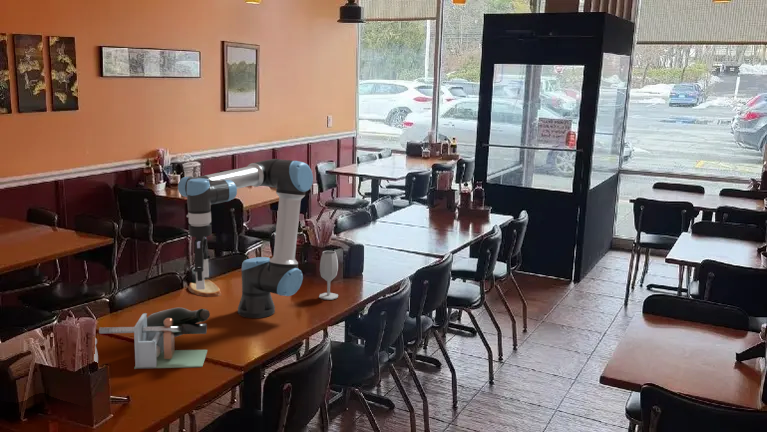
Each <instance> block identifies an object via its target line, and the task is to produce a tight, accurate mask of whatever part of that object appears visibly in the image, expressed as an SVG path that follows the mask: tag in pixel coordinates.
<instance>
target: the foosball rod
mask: <svg viewBox="0 0 767 432" xmlns="http://www.w3.org/2000/svg"><path fill="white" fill-rule="evenodd" d="M172 325H173V320H172V319H171V318H166V319H165V320H164V326H158V327H142V333H154V332H164V359H172V357H173V355H174V352H175V337H174V332H182V334H183V335H206V334H207V330H208V324H207V323H203V322H202V323H196V324H182V326H172ZM134 327H135V326H118V327H117V326H115V327H114V326H112V327H111V326H110V327H107V326H106V327H101V326H99V329H98V333H99V334H132V333H133V334H134Z"/></svg>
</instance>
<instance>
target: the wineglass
mask: <svg viewBox="0 0 767 432" xmlns="http://www.w3.org/2000/svg"><path fill="white" fill-rule="evenodd" d="M319 262H320V263H319V272H320V277H321V278H322V279H323V280H325V281H326V285H327V288H326V289H327V290H326V292H323V293H319V296H318V298H319V299H321V300H325V301H326V300H327V301H332V300H337V299H338V298H339V294H338V293H333V292H331V282H332V281H333V280H335V278H336V277H337V275H338V271H339V262H338V255H337V252H336V251H335V250H334V251H333V250H324V251H322V253H321V257H320V261H319Z"/></svg>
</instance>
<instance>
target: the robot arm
mask: <svg viewBox="0 0 767 432" xmlns="http://www.w3.org/2000/svg"><path fill="white" fill-rule="evenodd" d="M313 183H314V175H313V171H312V168H310V165H309V164H308V163H306V162H303V161H299V160H290V159H279V158H272V159H270V158H269V159H266V160H261V161H255V162H252V163H249V164H248V165H247V166H244V167H240V168H235V169H230V170H225V171H220V172H215V173H211V174H205V175H200V176H184V177H182V178H180V180H179V181H178V184H177V190H178V193H179V195H181V196H182V197H185V198H186V203H187V214H186V218H188V224H189V225H188V234H189V236H190V237H192V238H196V239H195V241H194V242H193V243H194V268H193V270H192V271H193V273H195V283H196V290H200V289H205V281H204V280H205V278H210V272H209V259H211V255H209V248H208V238H207V237H209V236H212V234H213V233H212V232H213V231H212V211H211V206H212V205H216V204H221V203H225V202H227V203H228V202H230V201H231V200H234V199H235V198H236V196H237V194H238V189H242V188H246V187H254V188H258V187H269V188H270V187H271V188H276V189H275V190H276V191H275V194H276V195H277V196H278V198H279V199H278V206H277V207H278V209H277V218H276V227H275V236H274V237H275V238H274V239H275V240H274V247H273V248H274V249H273V256H272V257H269V256H268V257H267V256H257V257H252V258H247V259H245V260H243V262H242V264H241V297H240V300H239V304H238V307H237V313H238V315H239V316H241V317H242V318H249V319H261V318H262V319H263V318H267V317H269V316H273V315H274V314H275V312H276V311H275V309H276V307H275V303H274V300H273V298H272V294H275V295H278V296H285V297H290V296H293V295H295V294H296V293H297V292H298V291H299V290H300V288H301V286H302V284H303V279H304V276H303V272H302V270H301V269H299V267H298V266H299V262H298V261H297V259H296V251H297V239H298V230H299V229H298V228H299V220H300V212H301V201H302V199H303V198H304V197H305V196H306V192H308V191H309V190H310V189H311V187H312V186H313ZM271 293H272V294H271Z"/></svg>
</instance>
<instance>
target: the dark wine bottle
mask: <svg viewBox="0 0 767 432" xmlns="http://www.w3.org/2000/svg"><path fill="white" fill-rule="evenodd" d="M210 314H211V313H210V311H209V310H208V309H206V308H199V309H195V310H190V309H188V308H184V307H173V308H168V309H164V310H160V311H158V312H154V313H151V314H149V315H148V316H147V327H158V326H164V320H165V319H166V318H171V319H172V320H173V325H172V326H182V324H200V323H203V322H206V321H207V320H208V319H209V318H210V317H211V315H210ZM182 335H184V334H182V332H174V338H177V337H179V336H182ZM163 337H164V332H163Z"/></svg>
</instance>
